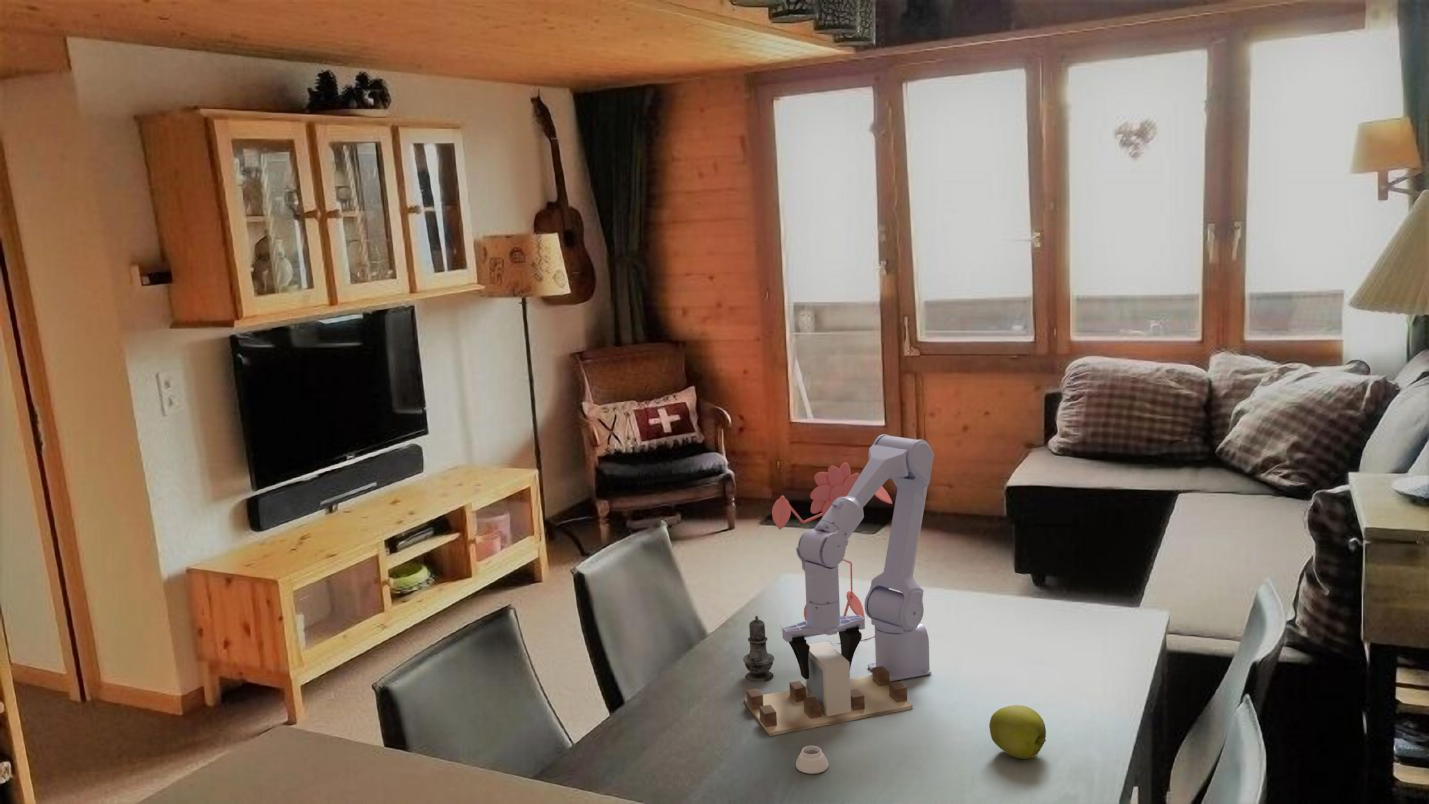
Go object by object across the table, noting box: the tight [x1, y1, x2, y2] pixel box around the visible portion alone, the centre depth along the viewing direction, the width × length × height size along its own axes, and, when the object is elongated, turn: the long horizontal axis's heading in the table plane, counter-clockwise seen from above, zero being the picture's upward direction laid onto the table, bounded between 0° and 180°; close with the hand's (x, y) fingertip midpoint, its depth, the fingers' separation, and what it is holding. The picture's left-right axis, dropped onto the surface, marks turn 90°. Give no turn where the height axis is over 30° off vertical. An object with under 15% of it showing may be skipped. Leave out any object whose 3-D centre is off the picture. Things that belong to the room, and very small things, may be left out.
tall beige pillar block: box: [804, 641, 851, 717], centre depth 191 cm, size 4×10×9 cm, turn 16°
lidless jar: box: [795, 745, 829, 775], centre depth 171 cm, size 5×3×5 cm
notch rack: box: [743, 666, 913, 737], centre depth 192 cm, size 26×14×3 cm, turn 106°
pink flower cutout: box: [771, 461, 893, 645], centre depth 222 cm, size 15×26×35 cm, turn 113°
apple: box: [988, 704, 1047, 760], centre depth 170 cm, size 8×9×8 cm
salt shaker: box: [742, 615, 775, 683], centre depth 204 cm, size 6×6×12 cm
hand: (825, 673), depth 191 cm, fingers open, 7 cm apart
